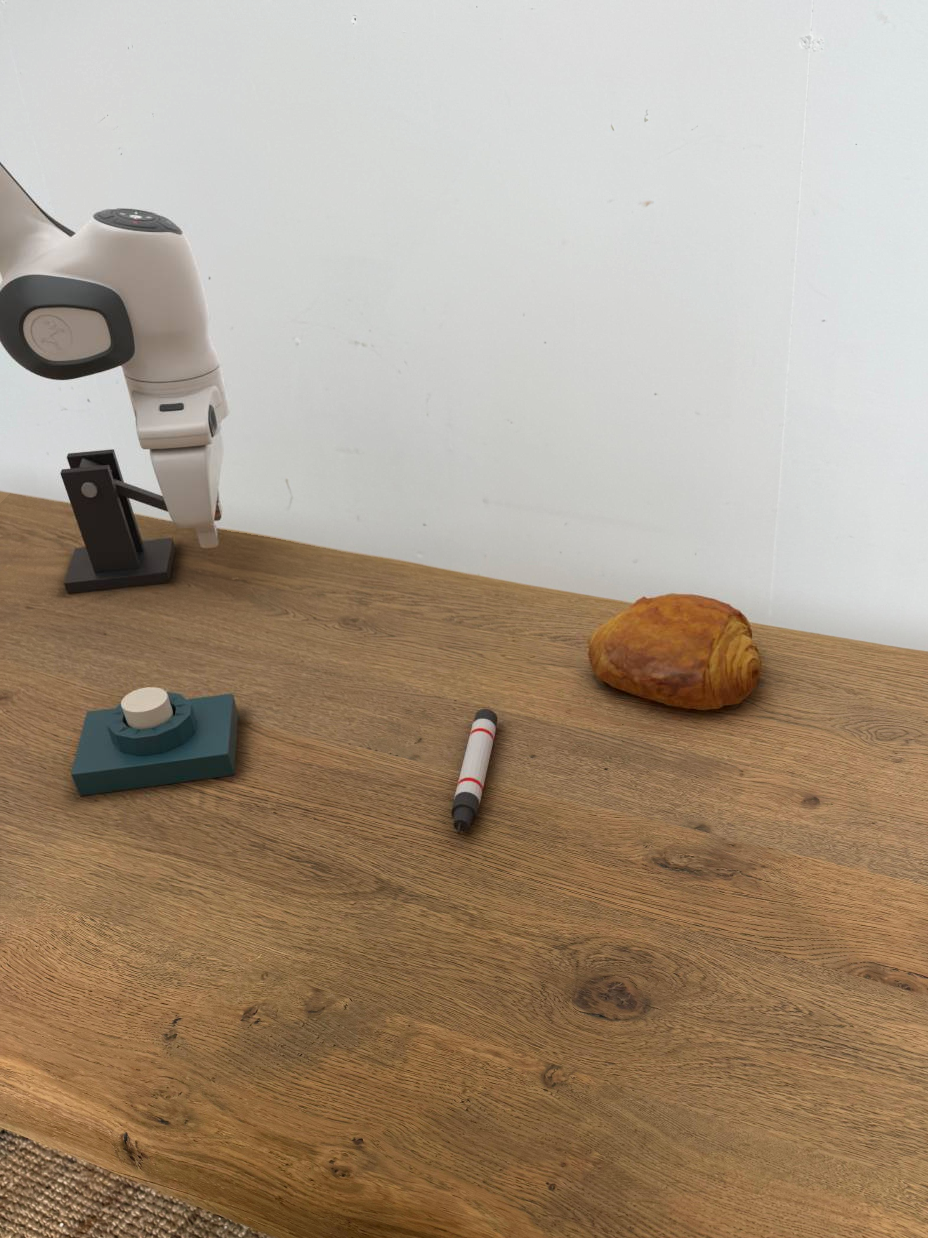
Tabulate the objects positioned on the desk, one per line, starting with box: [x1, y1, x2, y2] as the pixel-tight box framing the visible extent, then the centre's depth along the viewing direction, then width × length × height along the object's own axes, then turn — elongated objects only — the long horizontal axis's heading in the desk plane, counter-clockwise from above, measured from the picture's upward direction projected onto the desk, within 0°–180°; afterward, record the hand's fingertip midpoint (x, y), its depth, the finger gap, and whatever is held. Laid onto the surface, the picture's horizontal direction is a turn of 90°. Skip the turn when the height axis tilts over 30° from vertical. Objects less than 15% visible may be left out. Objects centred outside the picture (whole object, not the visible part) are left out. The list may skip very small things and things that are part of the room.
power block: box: [70, 691, 240, 797], centre depth 97 cm, size 12×9×4 cm
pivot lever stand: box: [59, 448, 176, 595], centre depth 119 cm, size 10×8×12 cm
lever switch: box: [79, 459, 216, 519], centre depth 119 cm, size 13×5×2 cm, turn 102°
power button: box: [120, 686, 173, 729], centre depth 95 cm, size 4×4×2 cm
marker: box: [451, 708, 498, 836], centre depth 94 cm, size 15×2×2 cm, turn 178°
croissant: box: [587, 592, 762, 711], centre depth 104 cm, size 14×16×8 cm
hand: (212, 531), depth 122 cm, fingers closed on lever switch, 5 cm apart
